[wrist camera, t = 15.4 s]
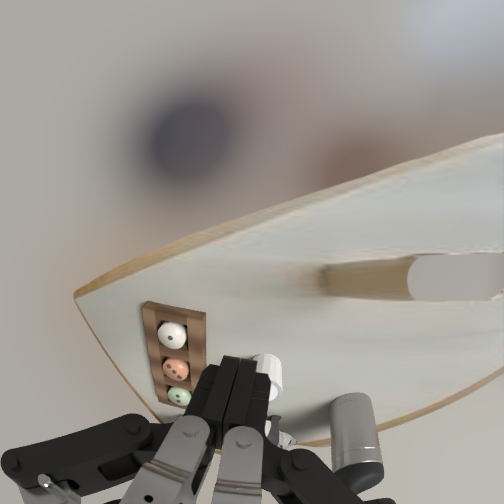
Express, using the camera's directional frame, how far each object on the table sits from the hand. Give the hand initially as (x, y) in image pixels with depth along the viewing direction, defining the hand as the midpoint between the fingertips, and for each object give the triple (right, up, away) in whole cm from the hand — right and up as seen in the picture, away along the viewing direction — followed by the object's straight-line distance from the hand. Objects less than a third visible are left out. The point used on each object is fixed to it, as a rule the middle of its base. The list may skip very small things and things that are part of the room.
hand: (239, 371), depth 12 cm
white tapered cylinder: (+3, -15, +36) cm, 39 cm away
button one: (-13, -9, +35) cm, 38 cm away
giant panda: (+5, -32, +42) cm, 53 cm away
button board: (-14, -16, +39) cm, 44 cm away
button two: (-15, -25, +41) cm, 50 cm away
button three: (-14, -17, +38) cm, 44 cm away
